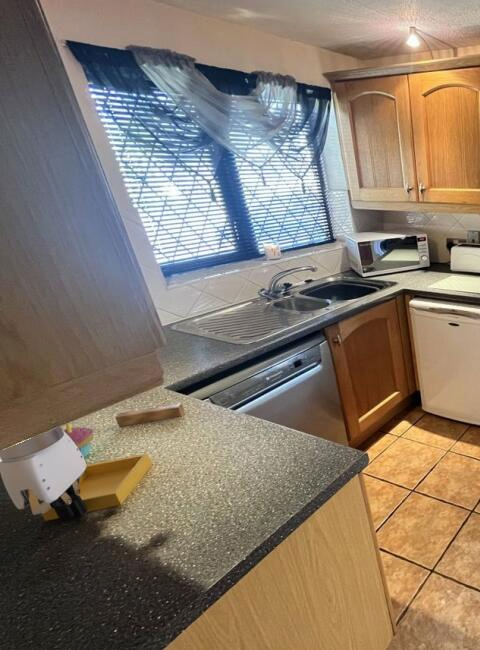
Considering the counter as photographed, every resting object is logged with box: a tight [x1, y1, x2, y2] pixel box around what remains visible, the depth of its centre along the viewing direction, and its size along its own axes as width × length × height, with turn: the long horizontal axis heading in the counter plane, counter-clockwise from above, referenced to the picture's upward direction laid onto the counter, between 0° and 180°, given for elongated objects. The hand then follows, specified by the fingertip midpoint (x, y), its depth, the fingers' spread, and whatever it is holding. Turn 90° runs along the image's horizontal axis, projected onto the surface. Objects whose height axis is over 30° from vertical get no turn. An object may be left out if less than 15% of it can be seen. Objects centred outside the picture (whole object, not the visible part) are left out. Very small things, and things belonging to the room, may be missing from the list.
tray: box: [41, 453, 153, 522], centre depth 81 cm, size 12×12×3 cm
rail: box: [114, 403, 185, 427], centre depth 104 cm, size 14×2×3 cm, turn 108°
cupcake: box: [63, 423, 94, 458], centre depth 89 cm, size 9×8×12 cm
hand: (75, 516), depth 74 cm, fingers closed
